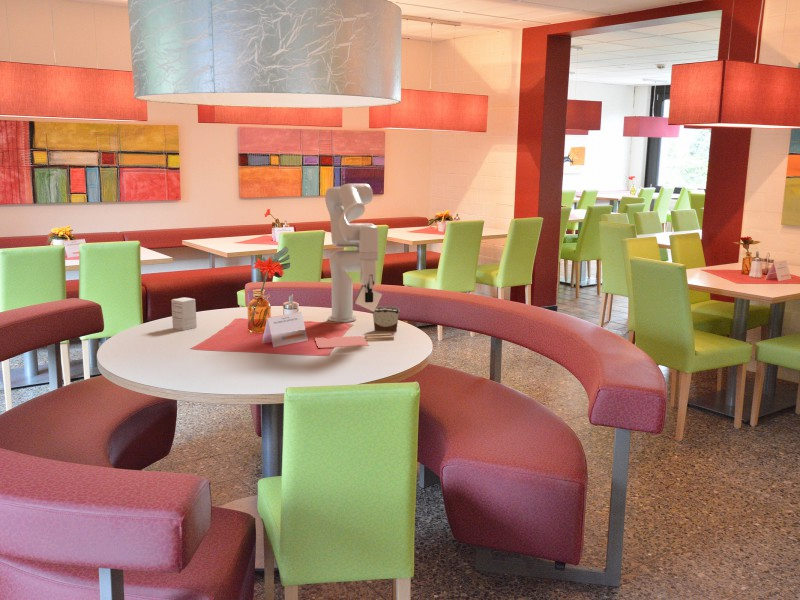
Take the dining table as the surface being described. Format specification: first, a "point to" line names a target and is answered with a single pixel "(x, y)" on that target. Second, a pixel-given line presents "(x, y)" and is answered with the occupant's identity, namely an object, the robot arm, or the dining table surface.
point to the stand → (379, 337)
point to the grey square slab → (367, 305)
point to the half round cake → (386, 318)
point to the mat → (341, 342)
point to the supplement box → (184, 313)
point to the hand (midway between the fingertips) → (368, 301)
